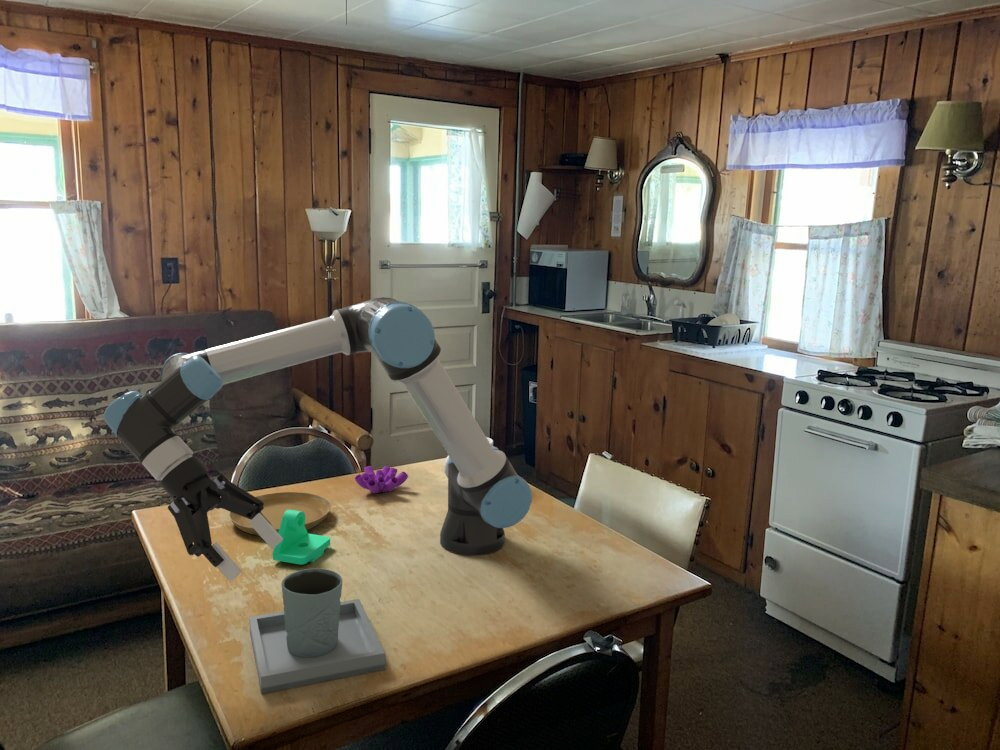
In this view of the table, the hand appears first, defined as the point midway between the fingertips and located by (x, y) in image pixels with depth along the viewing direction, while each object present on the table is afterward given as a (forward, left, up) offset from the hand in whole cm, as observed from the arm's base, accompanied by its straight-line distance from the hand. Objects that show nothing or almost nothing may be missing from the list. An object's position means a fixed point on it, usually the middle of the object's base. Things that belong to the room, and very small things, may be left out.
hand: (258, 559), depth 136 cm
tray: (-8, +6, -16) cm, 19 cm away
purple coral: (-38, -68, -16) cm, 80 cm away
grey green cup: (-8, +6, -15) cm, 18 cm away
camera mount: (-12, -34, -16) cm, 39 cm away
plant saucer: (-10, -56, -16) cm, 59 cm away
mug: (-63, -65, -16) cm, 92 cm away
